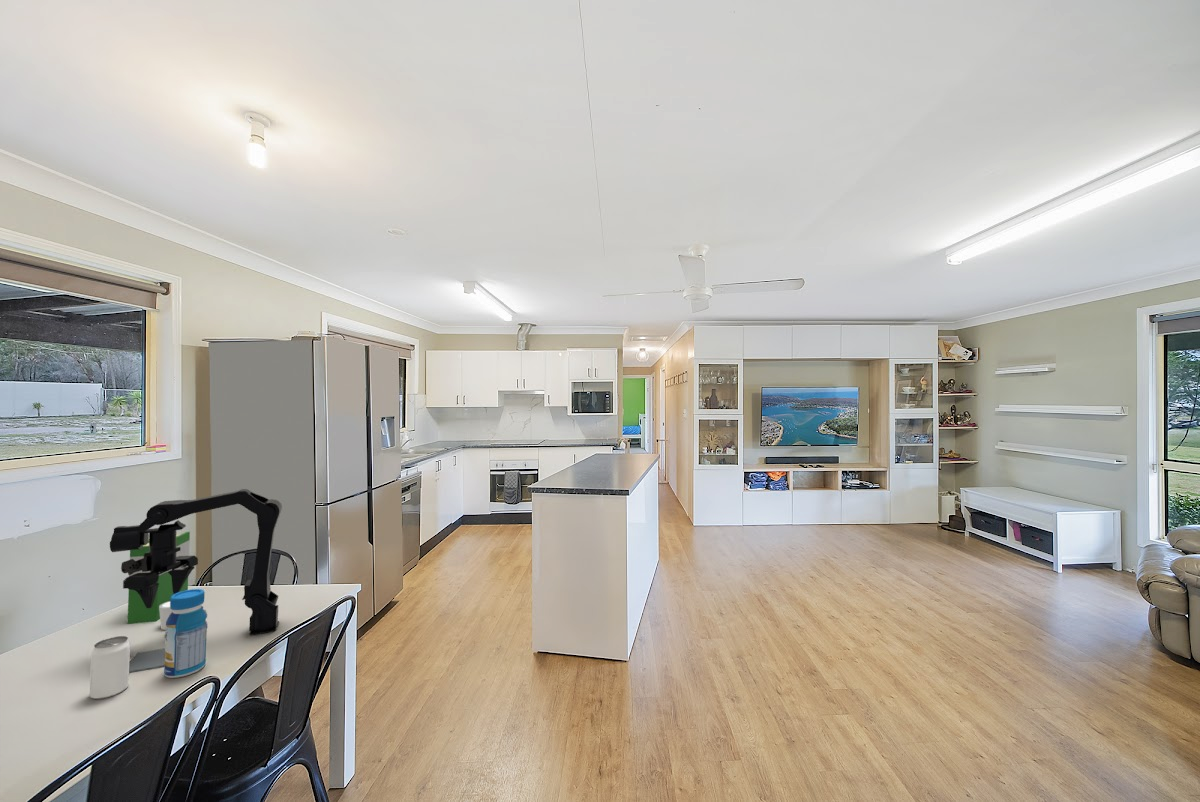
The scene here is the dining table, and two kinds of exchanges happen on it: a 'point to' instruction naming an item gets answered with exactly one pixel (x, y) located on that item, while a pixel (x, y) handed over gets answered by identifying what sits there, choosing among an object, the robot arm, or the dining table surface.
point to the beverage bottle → (185, 634)
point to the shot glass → (164, 614)
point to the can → (109, 667)
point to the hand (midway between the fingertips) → (162, 600)
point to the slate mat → (147, 660)
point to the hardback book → (164, 592)
